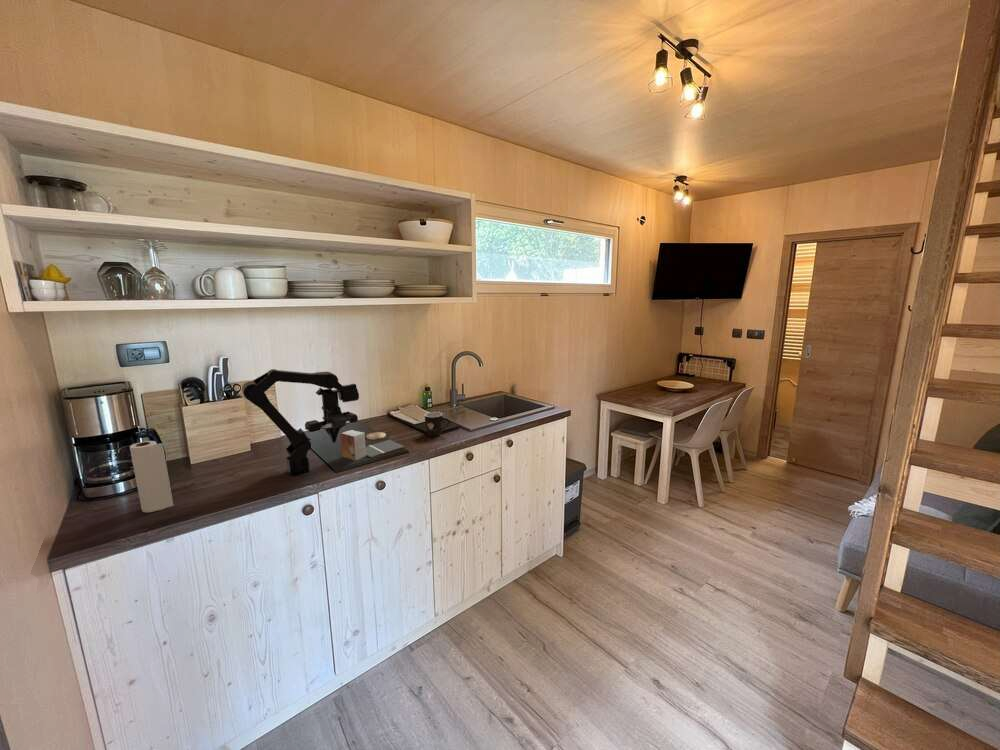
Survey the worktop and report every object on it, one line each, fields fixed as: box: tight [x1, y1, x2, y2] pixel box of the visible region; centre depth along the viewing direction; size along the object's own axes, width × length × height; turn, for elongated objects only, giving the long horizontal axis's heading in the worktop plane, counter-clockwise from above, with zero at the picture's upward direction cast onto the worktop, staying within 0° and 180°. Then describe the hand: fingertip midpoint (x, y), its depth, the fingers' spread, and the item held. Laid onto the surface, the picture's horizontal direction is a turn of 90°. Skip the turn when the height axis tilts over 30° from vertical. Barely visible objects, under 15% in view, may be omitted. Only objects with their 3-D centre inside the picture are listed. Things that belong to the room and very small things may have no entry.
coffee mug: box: [423, 411, 450, 438], centre depth 190 cm, size 12×9×10 cm
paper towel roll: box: [129, 440, 174, 513], centre depth 123 cm, size 7×6×21 cm
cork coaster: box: [365, 431, 387, 441], centre depth 189 cm, size 9×9×1 cm
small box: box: [340, 429, 367, 462], centre depth 164 cm, size 8×6×10 cm
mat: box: [365, 439, 405, 459], centre depth 173 cm, size 16×12×1 cm
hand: (333, 442), depth 158 cm, fingers closed
